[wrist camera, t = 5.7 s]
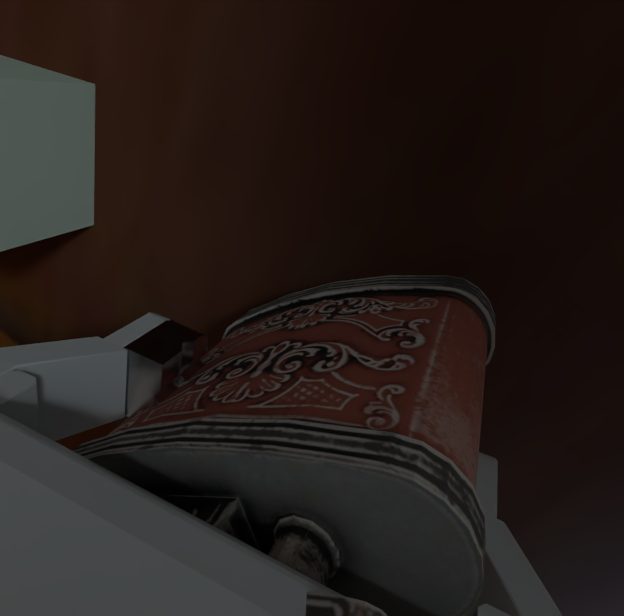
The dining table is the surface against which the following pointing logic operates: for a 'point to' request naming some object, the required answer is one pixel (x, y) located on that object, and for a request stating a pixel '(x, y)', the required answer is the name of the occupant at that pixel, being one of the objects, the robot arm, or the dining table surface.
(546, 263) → the dining table surface
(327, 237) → the dining table surface
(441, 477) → the lighter
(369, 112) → the dining table surface
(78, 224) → the sage block
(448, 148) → the dining table surface
